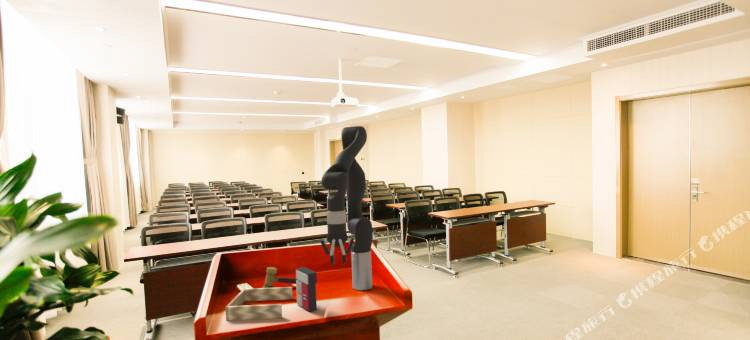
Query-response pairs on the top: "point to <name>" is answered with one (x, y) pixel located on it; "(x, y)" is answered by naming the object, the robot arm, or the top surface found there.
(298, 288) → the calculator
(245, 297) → the beige piece
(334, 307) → the top surface
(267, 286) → the gavel
